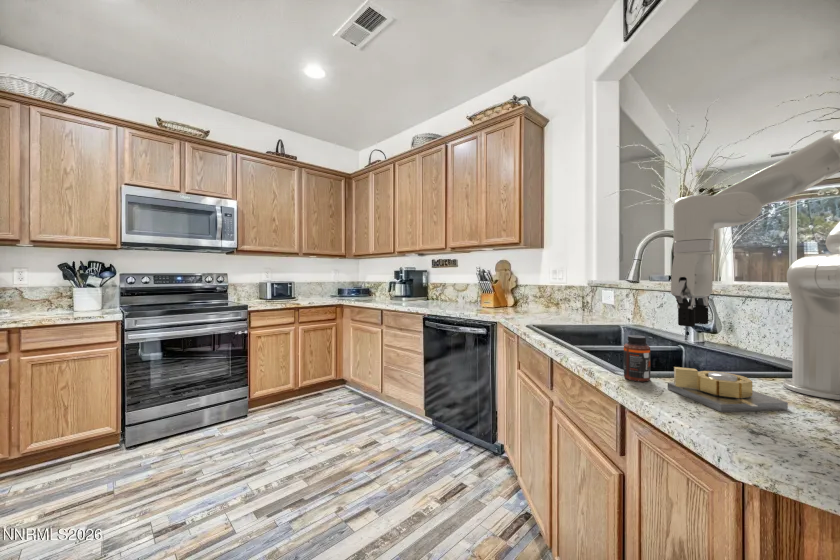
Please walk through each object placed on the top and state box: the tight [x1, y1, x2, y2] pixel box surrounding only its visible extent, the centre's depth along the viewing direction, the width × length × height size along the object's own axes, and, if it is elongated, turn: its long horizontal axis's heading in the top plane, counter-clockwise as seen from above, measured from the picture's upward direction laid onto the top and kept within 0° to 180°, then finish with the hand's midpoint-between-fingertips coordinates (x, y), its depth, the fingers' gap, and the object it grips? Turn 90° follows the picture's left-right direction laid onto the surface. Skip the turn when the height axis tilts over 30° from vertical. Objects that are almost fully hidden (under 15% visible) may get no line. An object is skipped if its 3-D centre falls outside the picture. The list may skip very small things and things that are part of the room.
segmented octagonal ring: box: [673, 366, 753, 398], centre depth 77 cm, size 13×9×4 cm
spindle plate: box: [667, 371, 789, 413], centre depth 76 cm, size 14×16×5 cm
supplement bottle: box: [623, 334, 651, 383], centre depth 91 cm, size 6×6×11 cm
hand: (693, 324), depth 82 cm, fingers open, 5 cm apart
